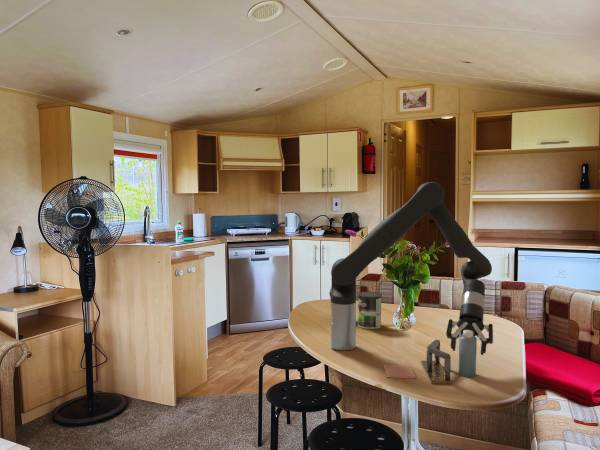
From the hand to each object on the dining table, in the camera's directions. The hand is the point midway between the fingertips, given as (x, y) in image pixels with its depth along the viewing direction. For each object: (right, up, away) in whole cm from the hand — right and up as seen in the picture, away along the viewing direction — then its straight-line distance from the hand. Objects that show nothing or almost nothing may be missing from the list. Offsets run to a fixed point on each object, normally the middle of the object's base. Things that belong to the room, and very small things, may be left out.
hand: (467, 351), depth 149 cm
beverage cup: (-36, -3, +67) cm, 77 cm away
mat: (-21, -7, +3) cm, 23 cm away
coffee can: (-23, -4, +55) cm, 59 cm away
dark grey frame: (-10, -7, +2) cm, 12 cm away
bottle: (0, -7, +1) cm, 7 cm away
